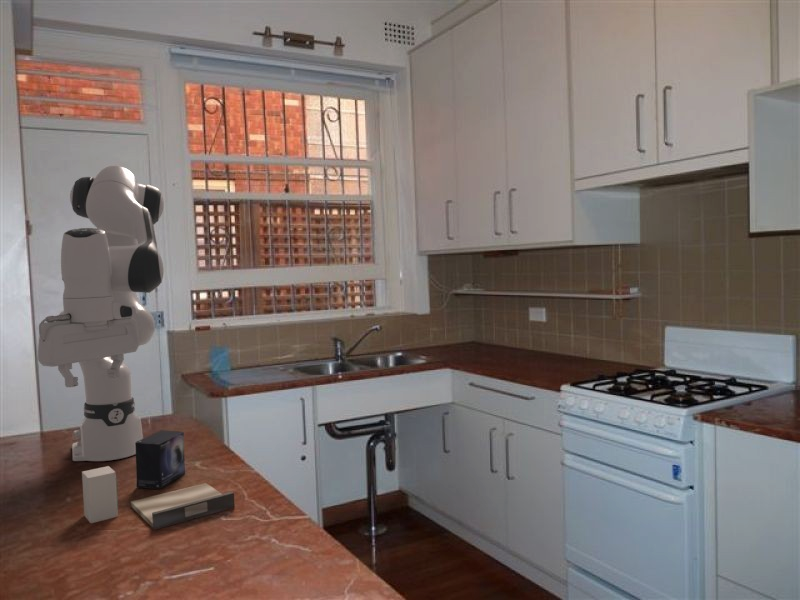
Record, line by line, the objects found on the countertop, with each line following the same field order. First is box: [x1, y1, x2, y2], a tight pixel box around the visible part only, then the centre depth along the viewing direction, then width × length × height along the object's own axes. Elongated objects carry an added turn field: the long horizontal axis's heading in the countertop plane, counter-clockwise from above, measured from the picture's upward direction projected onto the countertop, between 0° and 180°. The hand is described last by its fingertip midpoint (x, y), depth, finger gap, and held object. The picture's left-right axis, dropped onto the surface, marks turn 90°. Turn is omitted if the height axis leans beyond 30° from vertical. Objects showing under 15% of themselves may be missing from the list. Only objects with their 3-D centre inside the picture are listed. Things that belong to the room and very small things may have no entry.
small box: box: [135, 429, 186, 490], centre depth 146 cm, size 11×6×10 cm, turn 168°
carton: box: [81, 465, 119, 524], centre depth 127 cm, size 5×5×9 cm
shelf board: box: [130, 482, 235, 530], centre depth 131 cm, size 15×16×3 cm
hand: (93, 381), depth 125 cm, fingers open, 8 cm apart
